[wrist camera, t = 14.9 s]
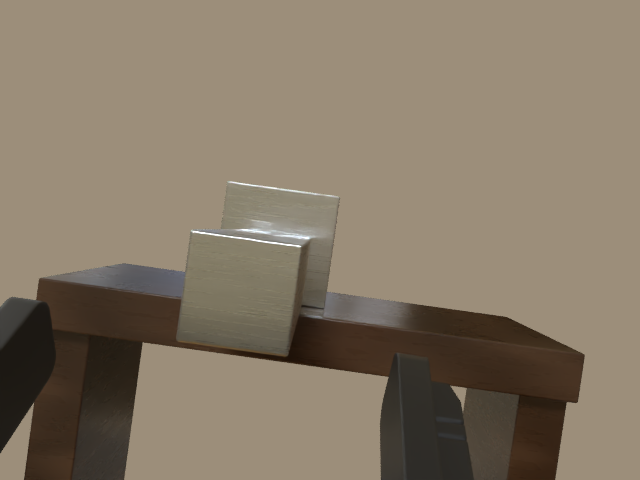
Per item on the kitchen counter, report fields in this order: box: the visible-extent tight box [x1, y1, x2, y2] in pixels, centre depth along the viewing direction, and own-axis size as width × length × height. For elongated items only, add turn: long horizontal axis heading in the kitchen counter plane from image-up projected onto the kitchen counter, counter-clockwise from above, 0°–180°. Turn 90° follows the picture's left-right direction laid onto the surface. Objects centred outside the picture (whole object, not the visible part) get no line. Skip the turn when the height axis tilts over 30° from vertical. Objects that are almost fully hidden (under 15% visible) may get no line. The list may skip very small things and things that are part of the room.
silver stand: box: [176, 181, 340, 357], centre depth 24 cm, size 5×16×5 cm, turn 0°
